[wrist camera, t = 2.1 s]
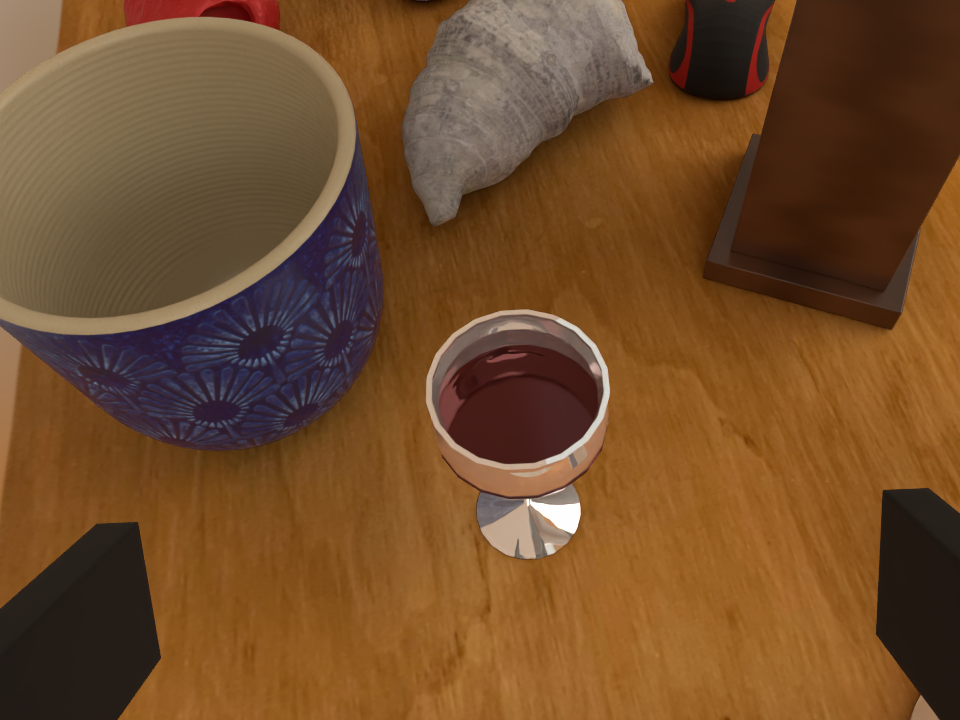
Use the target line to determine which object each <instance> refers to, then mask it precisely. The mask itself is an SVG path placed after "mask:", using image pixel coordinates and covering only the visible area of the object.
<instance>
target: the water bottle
mask: <svg viewBox="0 0 960 720" xmlns="http://www.w3.org/2000/svg"><path fill="white" fill-rule="evenodd" d="M911 720H939V719H938V717H937V716H936V715H935V713H934V712H933V710H932V709H931V708H930V706H929V705H928V704H927V702H926V701H925V700H924V698H923V697H922V696H920V697H919V699H918V701H917V703H916V705H915V707H914V710H913V713H912V716H911Z"/></svg>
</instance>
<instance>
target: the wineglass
mask: <svg viewBox="0 0 960 720" xmlns="http://www.w3.org/2000/svg"><path fill="white" fill-rule="evenodd" d="M609 395H610V389H609V379H608V369H607V366H606V364H605V362H604V360H603V358H602V356H601V354H600V352H599V350H598V348H597V346H596V345H595V344H594V343H593V342H592V341H591V340H590V339H589V338H588V337H587V336H586V335H585V334H584V333H583V332H582V331H581V330H580V329H579V328H578V327H576V326H574V325H573V324H571V323H569V322H567V321H565V320H563V319H561V318H559V317H557V316H555V315H552V314H547V313H542V312H538V311H533V310H528V309H526V310H508V311H499V312H496V313H493V314H489V315H486V316H483V317H480V318H477V319H474V320H473V321H471V322H470V323H468V324H467V325H465V326H464V327H462V328H461V329H459V330H458V331H456V332H455V333H453V334H452V335H451V336H450V337H449V339H448V340H447V341H446V342H445V344H444V345H443V346H442V347H441V348H440V350H439V351H438V352H437V353H436V355H435V357H434V360H433V362H432V365H431V368H430V370H429V373H428V375H427V383H426V404H427V407H428V410H429V412H430V415H431V418H432V431H433V434H434V436H435V439H436V442H437V445H438V448H439V451H440V453H441V455H442V458H443V459H444V460H445V461H446V463H447V464H448V465H449V466H450V468H451V469H452V470H453V471H454V473H455V474H456V475H457V476H458V478H460V479H461V480H463V481H465V482H466V483H468V484H469V485H471V486H472V487H474V488H476V489H477V490H479V491H480V495H479V498H478V501H477V520H478V523H479V525H480V528H481V531H482V533H483V535H484V536H485V537H486V539H487V540H488V541H489V542H490V544H491V545H492V546H493V547H495V548H496V549H498V550H499V551H501V552H503V553H504V554H506V555H509V556H512V557H516V558H520V559H539V558H542V557H544V556H547V555H550V554H553V553H555V552H556V551H558V550H559V549H560V548H561V547H563V546H564V545H565V544H567V543H568V541H569V540H570V538H571V537H572V535H573V534H574V532H575V531H576V529H577V525H578V522H579V518H580V502H579V497H578V495H577V493H576V490H575V488H574V486H573V484H572V483H573V482H574V481H576V480H577V479H578V478H580V477H581V476H582V475H584V474H585V473H586V472H587V471H588V469H589V468H590V466H591V465H592V463H593V462H594V460H595V459H596V457H597V456H598V455H599V453H600V452H601V450H602V446H603V442H604V439H605V435H606V431H607V427H608V422H609V413H608V399H609Z"/></svg>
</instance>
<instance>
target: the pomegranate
mask: <svg viewBox="0 0 960 720" xmlns="http://www.w3.org/2000/svg"><path fill="white" fill-rule="evenodd" d="M124 11H125V17H126V26H127V27H129V26H133V25H137V24H142V23H147V22H152V21H159V20H166V19H173V18H186V17H217V18H230V19H237V20H244V21H248V22H253V23H257V24H261V25H265V26H268V27H271V28H274V29H277V30H279V23H280V12H279V6H278V2H277V0H124Z"/></svg>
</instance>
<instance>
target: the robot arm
mask: <svg viewBox="0 0 960 720" xmlns="http://www.w3.org/2000/svg"><path fill="white" fill-rule="evenodd" d="M876 635H877V636H878V637H879V639H880V640H881V642H882V643H883V644H884V646H885V647H886V648H887V650H888V651H889V652H890V654H891V655H892V656H893V658H894V659H895V660H896V662H897V663H898V665H899V666H900V667H901V669H902V670H903V671H904V673H905V674H906V675H907V677H908V678H909V679H910V681H911V682H912V683H913V685H914V686H915V688H916V689H917V690H918V692H919V693H920V694H921V696H922V697H923V698H924V700H925V701H926V702H927V704H928V705H929V706H930V708H931V709H932V710H933V712H934V713H935V715H936V716H937V717H938V719H939V720H960V514H959V513H958V512H957V511H956V510H955V509H953V508H952V507H951V506H950V505H949V504H947V503H946V502H945V501H944V500H942V499H941V498H940V497H939V496H938V495H936V494H935V493H934V492H933V491H931V490H930V489H929V488H920V489H897V490H883V496H882V517H881V539H880V560H879V581H878V602H877V624H876ZM160 659H161V655H160V649H159V643H158V638H157V632H156V626H155V620H154V614H153V608H152V602H151V596H150V590H149V584H148V579H147V573H146V567H145V561H144V555H143V549H142V543H141V537H140V531H139V526H138V522H128V523H105V524H96V525H95V526H94V527H93V528H91V529H90V530H89V531H88V532H87V533H86V534H85V535H83V536H82V537H81V538H80V539H79V540H78V541H77V542H76V543H74V544H73V545H72V546H71V547H70V548H69V549H68V550H66V551H65V552H64V553H63V554H62V555H61V556H60V557H59V558H57V559H56V560H55V561H54V562H53V563H52V564H51V565H49V566H48V567H47V568H46V569H45V570H44V571H43V572H42V573H40V574H39V575H38V576H37V577H36V578H35V579H34V580H32V581H31V582H30V583H29V584H28V585H27V586H26V587H25V588H23V589H22V590H21V591H20V592H19V593H18V594H17V595H15V596H14V597H13V598H12V599H11V600H10V601H9V602H8V603H6V604H5V605H4V606H3V607H2V608H1V609H0V720H118V718H119V717H120V715H121V714H122V713H123V711H124V710H125V708H126V707H127V705H128V704H129V703H130V701H131V700H132V698H133V697H134V696H135V694H136V693H137V691H138V690H139V688H140V687H141V686H142V684H143V683H144V681H145V680H146V679H147V677H148V676H149V674H150V673H151V671H152V670H153V669H154V667H155V666H156V664H157V663H158V662H159V660H160Z"/></svg>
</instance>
